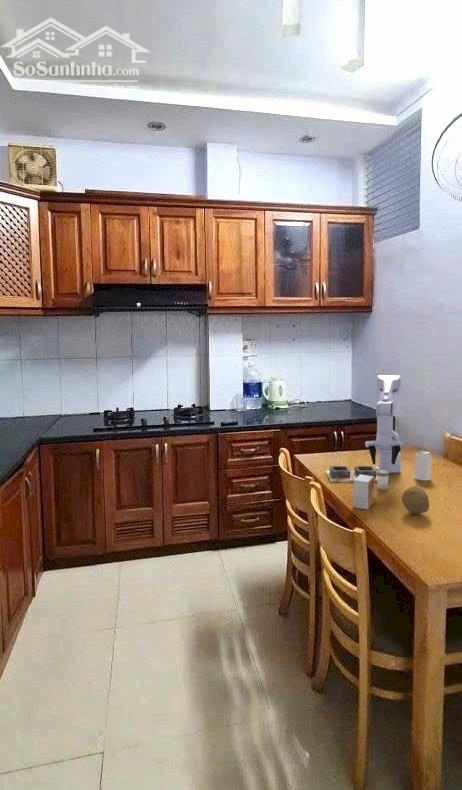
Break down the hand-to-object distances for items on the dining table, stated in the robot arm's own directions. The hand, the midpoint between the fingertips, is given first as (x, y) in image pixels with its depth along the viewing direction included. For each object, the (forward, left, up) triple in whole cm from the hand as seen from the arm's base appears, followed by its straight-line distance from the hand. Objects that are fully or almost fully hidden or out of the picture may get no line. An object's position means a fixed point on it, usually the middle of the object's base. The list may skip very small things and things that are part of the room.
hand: (383, 463), depth 191 cm
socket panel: (+9, -14, -10) cm, 20 cm away
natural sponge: (-4, +27, -10) cm, 29 cm away
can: (-20, -12, -10) cm, 26 cm away
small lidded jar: (0, 0, -10) cm, 10 cm away
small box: (+12, +19, -10) cm, 25 cm away
